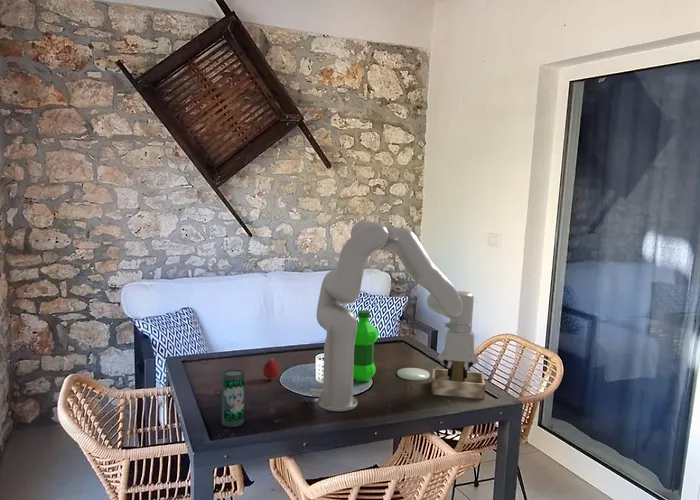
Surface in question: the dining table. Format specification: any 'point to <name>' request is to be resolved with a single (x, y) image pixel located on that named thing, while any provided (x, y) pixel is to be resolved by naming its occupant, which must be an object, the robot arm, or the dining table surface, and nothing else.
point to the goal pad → (413, 374)
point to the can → (233, 397)
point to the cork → (457, 371)
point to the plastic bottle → (364, 348)
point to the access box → (458, 385)
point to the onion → (271, 369)
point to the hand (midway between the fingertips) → (456, 378)
